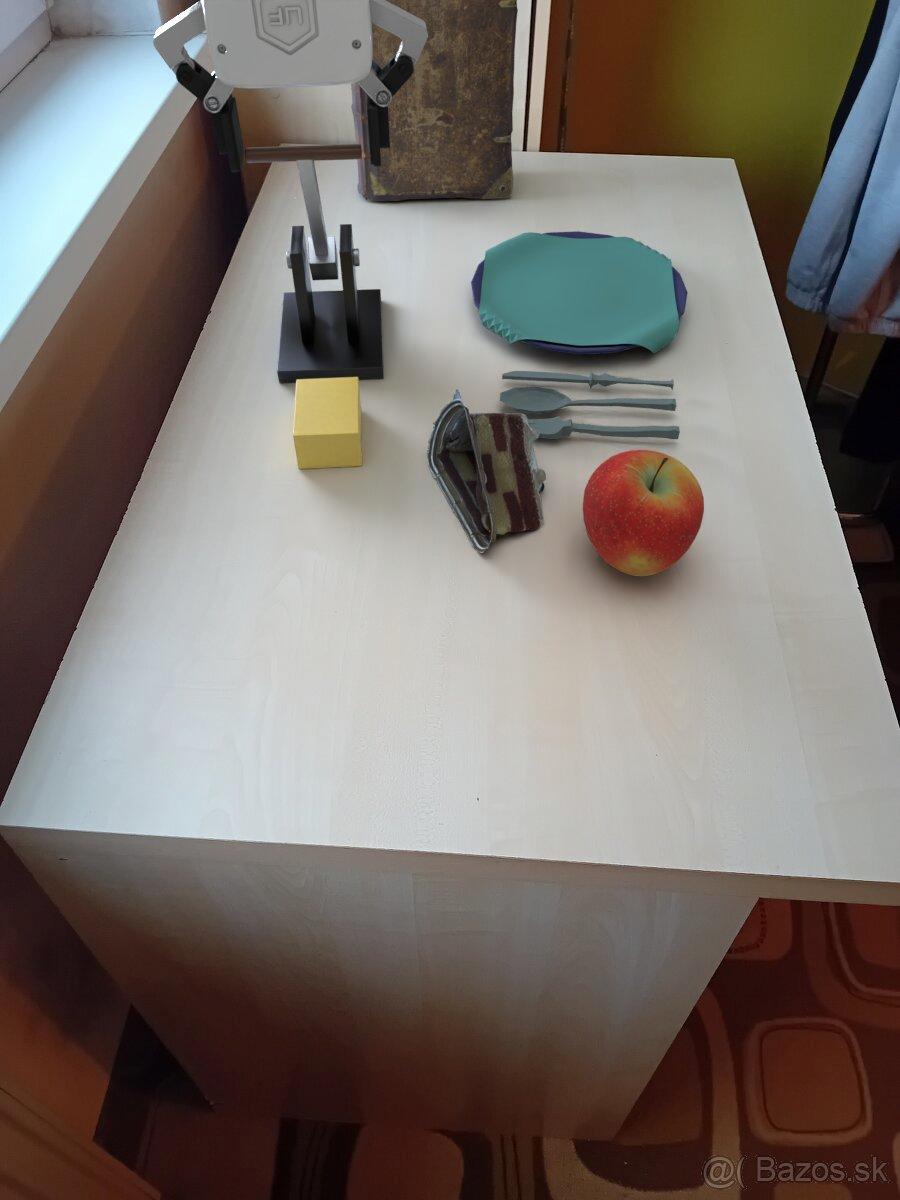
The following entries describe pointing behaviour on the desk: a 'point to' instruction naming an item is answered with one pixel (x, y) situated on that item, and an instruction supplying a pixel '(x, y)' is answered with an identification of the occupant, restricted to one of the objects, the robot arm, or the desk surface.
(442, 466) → the chocolate cake
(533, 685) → the desk surface
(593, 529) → the apple
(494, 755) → the desk surface
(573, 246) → the cutlery set
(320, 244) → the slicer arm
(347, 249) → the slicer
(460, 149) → the book
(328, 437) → the butter
